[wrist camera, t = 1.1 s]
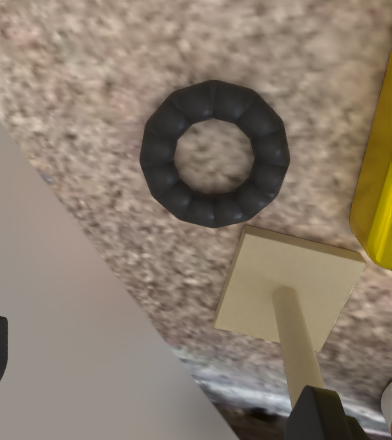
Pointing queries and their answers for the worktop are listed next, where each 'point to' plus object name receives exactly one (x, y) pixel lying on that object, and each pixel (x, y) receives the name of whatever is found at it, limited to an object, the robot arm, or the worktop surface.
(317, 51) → the worktop surface
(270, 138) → the ring
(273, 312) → the stand
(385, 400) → the milk bottle
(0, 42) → the worktop surface
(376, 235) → the element tile
